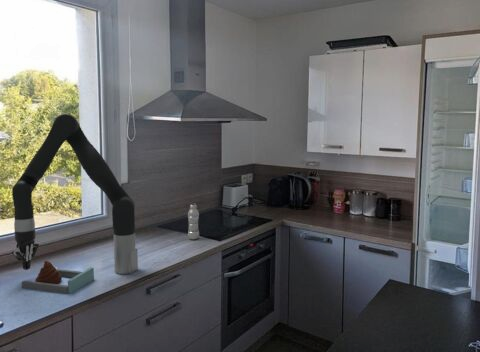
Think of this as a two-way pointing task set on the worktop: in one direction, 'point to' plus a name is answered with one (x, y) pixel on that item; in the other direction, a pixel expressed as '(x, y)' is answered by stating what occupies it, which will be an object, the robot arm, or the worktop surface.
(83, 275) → the channel
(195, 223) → the plastic bottle
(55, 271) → the poop emoji
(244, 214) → the worktop surface
